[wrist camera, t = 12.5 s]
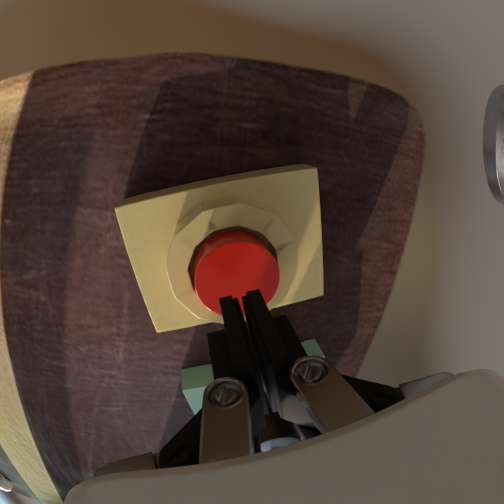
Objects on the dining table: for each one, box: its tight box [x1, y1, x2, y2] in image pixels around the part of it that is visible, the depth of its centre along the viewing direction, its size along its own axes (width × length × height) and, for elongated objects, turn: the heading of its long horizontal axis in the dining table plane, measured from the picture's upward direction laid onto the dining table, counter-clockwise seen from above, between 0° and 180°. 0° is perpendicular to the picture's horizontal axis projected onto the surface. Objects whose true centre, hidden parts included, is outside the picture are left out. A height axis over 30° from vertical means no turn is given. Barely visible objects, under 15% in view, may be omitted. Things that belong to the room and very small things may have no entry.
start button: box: [194, 230, 280, 316], centre depth 16 cm, size 4×4×2 cm
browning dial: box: [259, 391, 302, 452], centre depth 21 cm, size 5×5×5 cm
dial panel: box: [181, 339, 325, 414], centre depth 25 cm, size 12×9×3 cm
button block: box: [115, 164, 324, 332], centre depth 18 cm, size 12×9×4 cm
